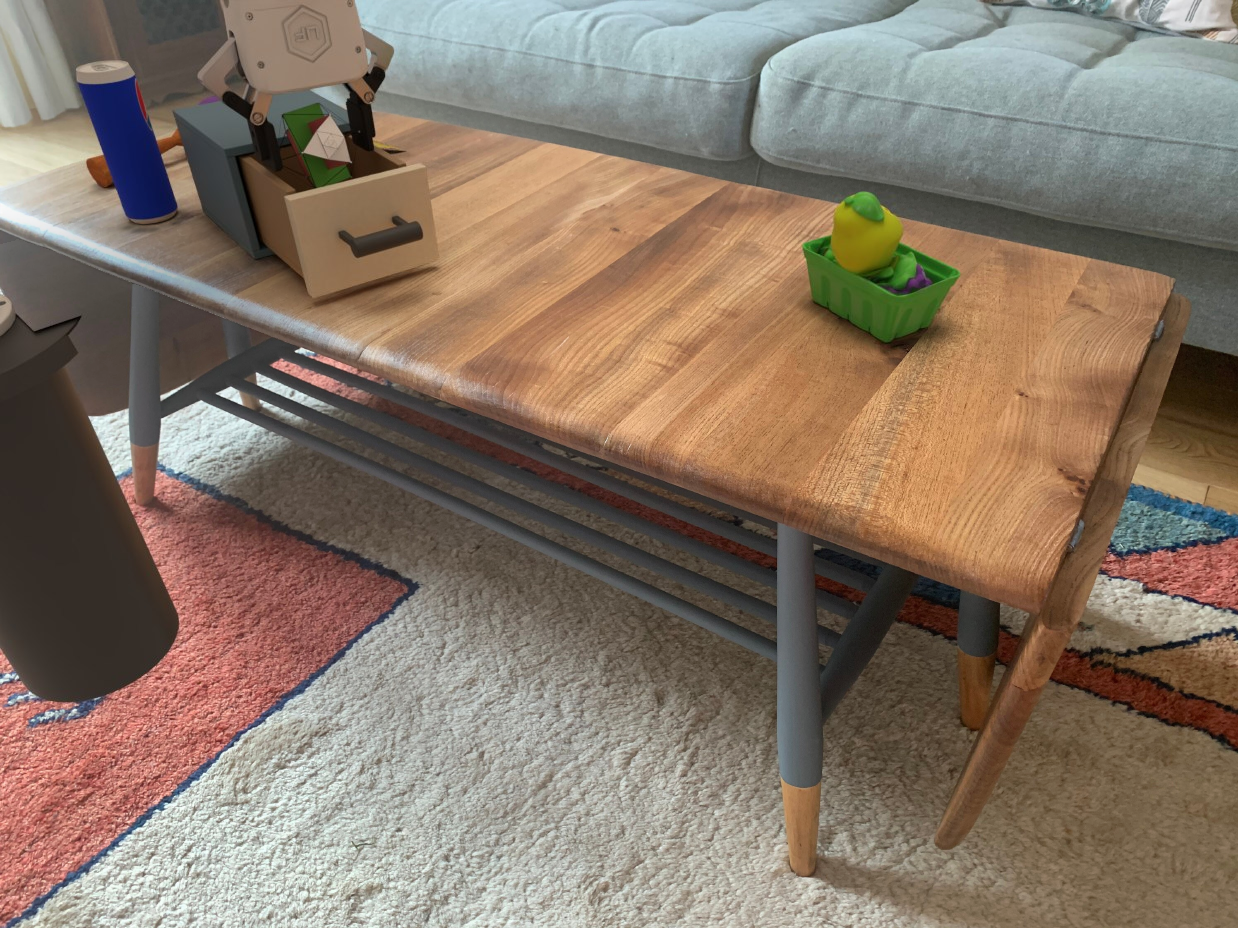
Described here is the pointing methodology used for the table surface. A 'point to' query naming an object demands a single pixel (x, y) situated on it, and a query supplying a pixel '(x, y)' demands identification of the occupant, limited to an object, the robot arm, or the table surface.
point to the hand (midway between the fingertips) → (319, 156)
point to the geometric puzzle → (318, 145)
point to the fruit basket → (875, 272)
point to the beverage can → (127, 140)
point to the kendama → (101, 170)
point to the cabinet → (236, 159)
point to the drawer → (344, 218)
